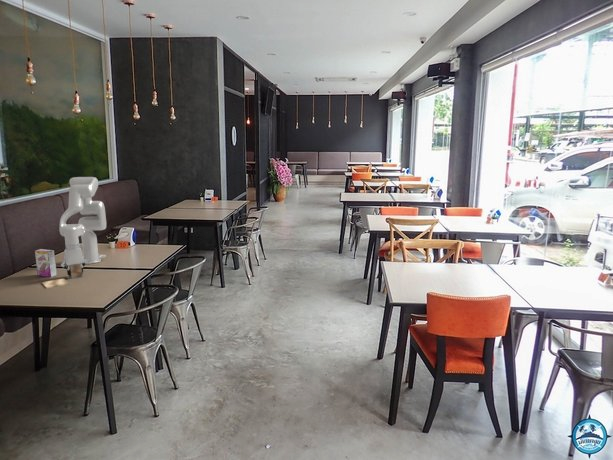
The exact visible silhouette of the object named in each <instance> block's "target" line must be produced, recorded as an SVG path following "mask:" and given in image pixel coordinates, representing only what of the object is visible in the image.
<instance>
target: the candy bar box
mask: <svg viewBox="0 0 613 460" xmlns="http://www.w3.org/2000/svg"><path fill="white" fill-rule="evenodd" d="M55 255H56V254H55V250H52V249H43V248H39V249H36V250H34V257H35V264H36V272H37V276H39V277H47V278H53V277H55V276H58V273H57V265H56V256H55Z"/></svg>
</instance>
